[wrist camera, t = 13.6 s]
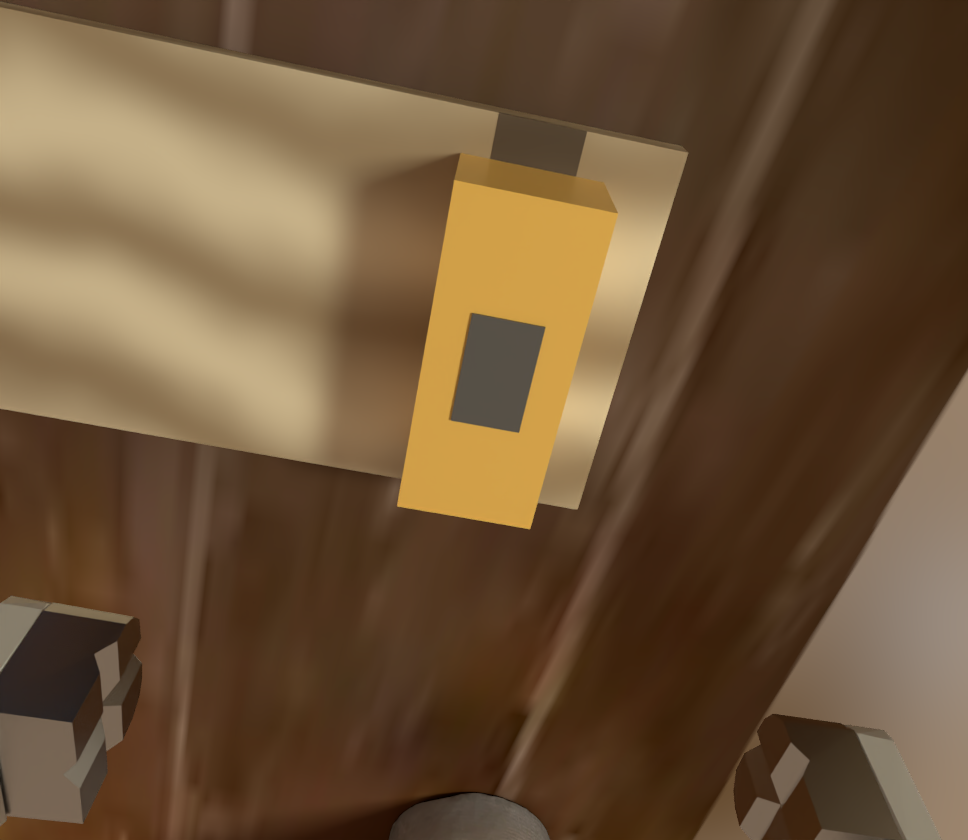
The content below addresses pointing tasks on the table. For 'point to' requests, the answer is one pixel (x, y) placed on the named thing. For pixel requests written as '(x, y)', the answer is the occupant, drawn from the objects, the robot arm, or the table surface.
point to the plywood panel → (266, 243)
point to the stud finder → (503, 337)
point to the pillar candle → (468, 820)
